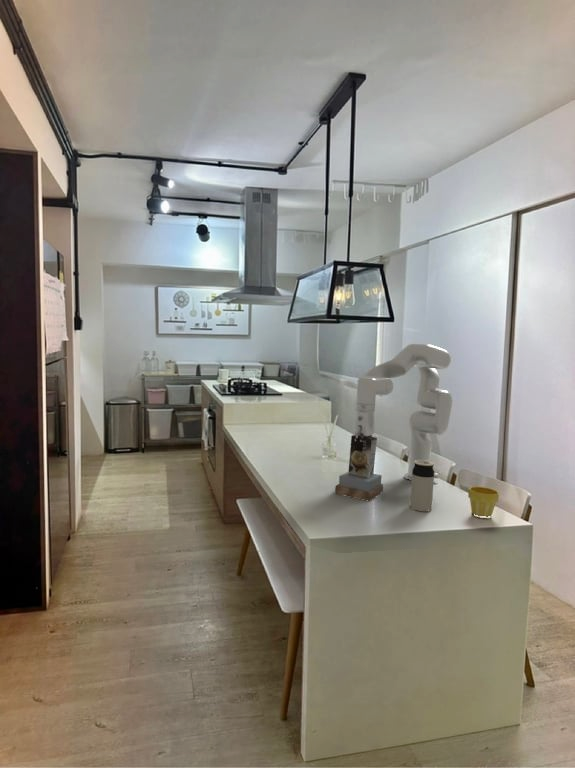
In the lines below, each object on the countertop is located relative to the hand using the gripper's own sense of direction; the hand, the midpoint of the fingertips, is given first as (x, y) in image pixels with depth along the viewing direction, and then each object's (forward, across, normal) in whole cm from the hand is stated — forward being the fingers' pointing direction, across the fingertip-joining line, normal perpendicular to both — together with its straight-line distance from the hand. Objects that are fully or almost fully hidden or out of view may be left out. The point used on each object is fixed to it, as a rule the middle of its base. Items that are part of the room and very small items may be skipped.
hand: (362, 449), depth 203 cm
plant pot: (+19, +2, -47) cm, 51 cm away
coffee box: (+11, 0, 0) cm, 11 cm away
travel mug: (+19, -4, -26) cm, 32 cm away
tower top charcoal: (+15, 0, 0) cm, 15 cm away
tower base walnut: (+19, 0, 0) cm, 19 cm away
